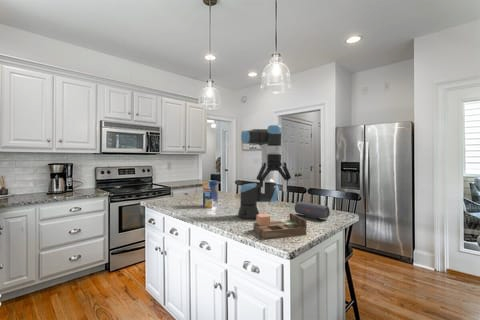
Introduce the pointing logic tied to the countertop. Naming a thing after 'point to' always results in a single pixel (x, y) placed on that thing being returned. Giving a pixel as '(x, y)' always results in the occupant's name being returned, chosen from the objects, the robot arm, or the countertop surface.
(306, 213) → the bluetooth speaker
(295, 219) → the box
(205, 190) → the beverage box
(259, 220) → the block
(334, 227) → the countertop surface
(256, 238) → the countertop surface
